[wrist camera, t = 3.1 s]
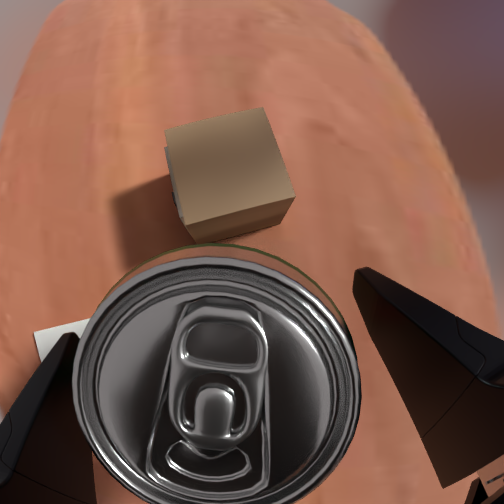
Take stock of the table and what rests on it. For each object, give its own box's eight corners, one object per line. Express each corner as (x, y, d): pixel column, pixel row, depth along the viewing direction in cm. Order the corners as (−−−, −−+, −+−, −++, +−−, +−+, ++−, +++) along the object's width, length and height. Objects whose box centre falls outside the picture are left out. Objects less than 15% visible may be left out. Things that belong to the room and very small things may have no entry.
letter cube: (279, 224, 17) (295, 196, 12) (191, 248, 16) (177, 227, 12) (255, 151, 18) (263, 106, 13) (173, 172, 17) (157, 132, 13)
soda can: (173, 373, 15) (61, 499, 3) (184, 278, 16) (70, 210, 4) (270, 385, 15) (348, 534, 4) (281, 290, 16) (401, 251, 4)
